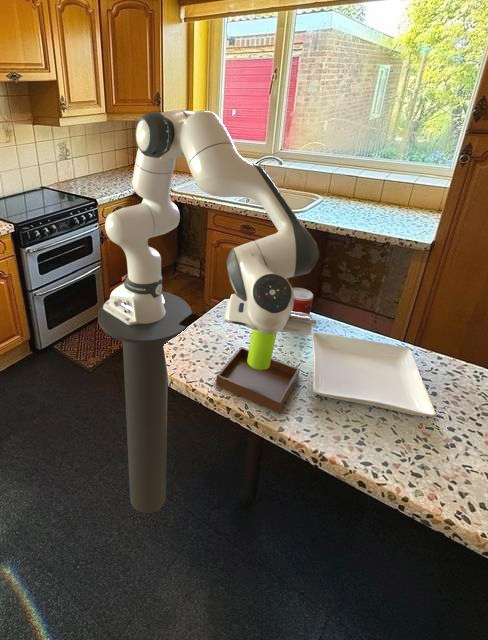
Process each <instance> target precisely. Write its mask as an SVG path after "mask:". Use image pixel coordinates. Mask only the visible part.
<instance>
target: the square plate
mask: <svg viewBox="0 0 488 640" xmlns="http://www.w3.org/2000/svg"><path fill="white" fill-rule="evenodd" d="M310 337H311V339H310V340H311V350H312V351H311V352H312V392H313V393H314V394H316V395H319V396H321V397H325V398H329V399H333V400H339V401H344V402H350V403H355V404H361V405H366V406H372V407H377V408H381V409H385V410H391V411H393V412H398V413H402V414H403V413H404V414H407V415H413V416H417V417H425V418H433V417H436V416H437V412H436V410H435V407H434V404H433V402H432V400H431V397H430V395H429V392H428V390H427V387H426V385H425V382H424V380H423V378H422V374H421V373H420V370H419V367H418V364H417V362H416V359H415V356H414V354H413V351H412V350H411V349H410V348H409V347H405V346H400V345H395V344H389V343H385V342H379V341H375V340H367V339H362V338H356V337H350V336H349V337H348V336H344V335H343V336H342V335H337V334H330V333H322V332H315V331H313V332H312V331H311V334H310Z"/></svg>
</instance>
